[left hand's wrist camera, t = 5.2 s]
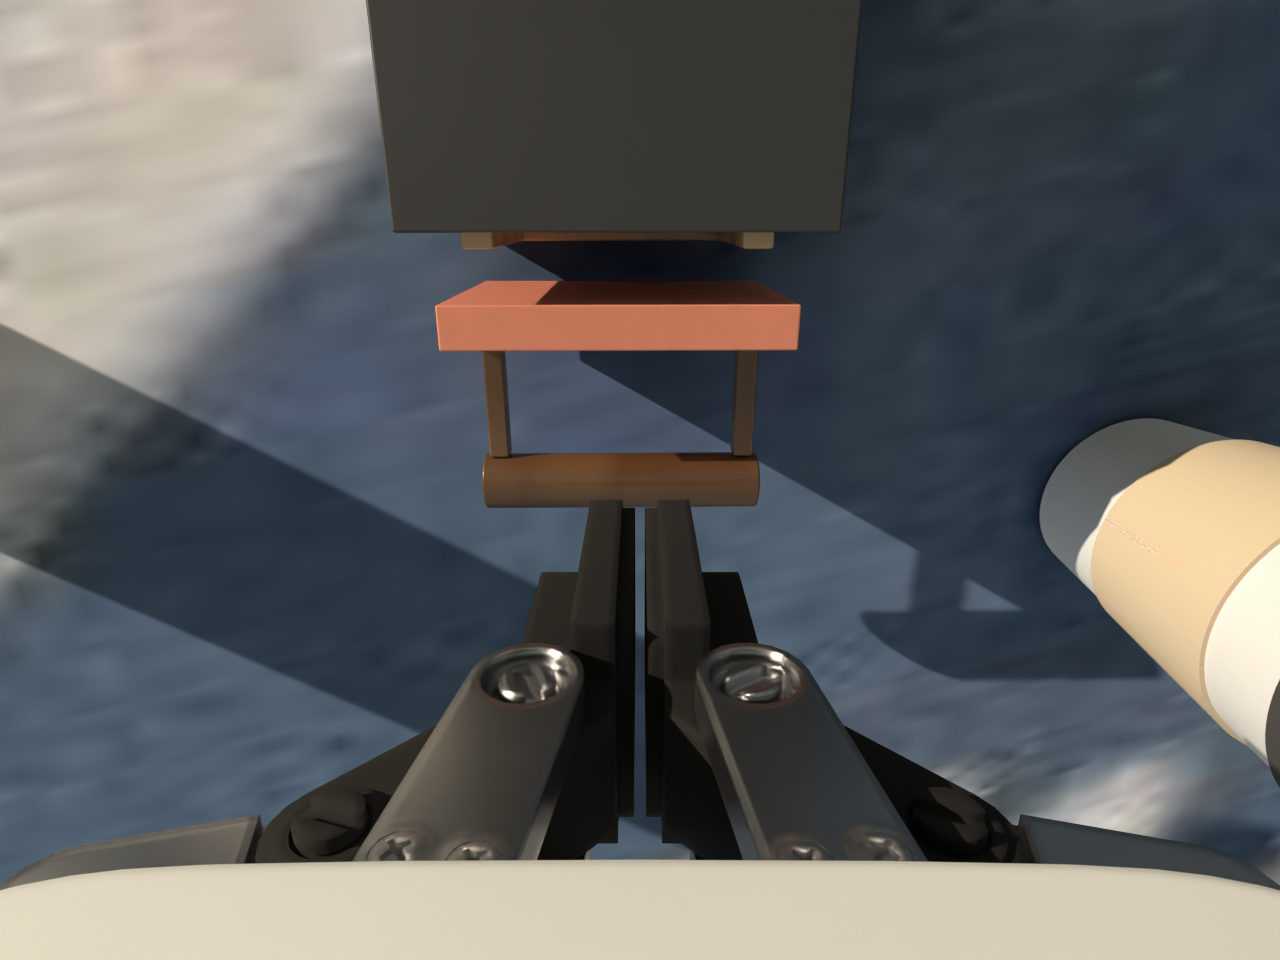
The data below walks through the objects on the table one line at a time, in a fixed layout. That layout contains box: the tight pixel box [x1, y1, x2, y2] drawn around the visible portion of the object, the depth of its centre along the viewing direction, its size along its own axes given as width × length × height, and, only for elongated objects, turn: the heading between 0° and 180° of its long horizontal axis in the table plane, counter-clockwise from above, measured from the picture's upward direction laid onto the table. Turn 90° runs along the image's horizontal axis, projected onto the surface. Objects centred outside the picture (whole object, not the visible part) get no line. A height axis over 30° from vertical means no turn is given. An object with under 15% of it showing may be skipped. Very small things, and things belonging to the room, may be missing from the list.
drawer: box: [435, 232, 801, 508], centre depth 20 cm, size 25×10×7 cm, turn 0°
